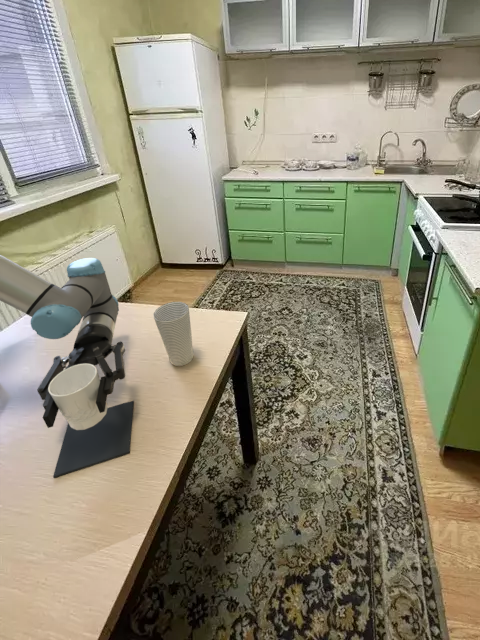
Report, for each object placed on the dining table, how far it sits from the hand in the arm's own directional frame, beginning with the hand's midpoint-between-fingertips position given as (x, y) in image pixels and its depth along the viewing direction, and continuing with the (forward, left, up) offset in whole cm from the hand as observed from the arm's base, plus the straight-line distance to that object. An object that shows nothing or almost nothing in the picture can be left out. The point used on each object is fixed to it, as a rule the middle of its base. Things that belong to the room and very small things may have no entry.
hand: (74, 414), depth 58 cm
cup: (+18, +22, -12) cm, 31 cm away
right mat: (0, +5, -12) cm, 13 cm away
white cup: (0, +5, -6) cm, 8 cm away
